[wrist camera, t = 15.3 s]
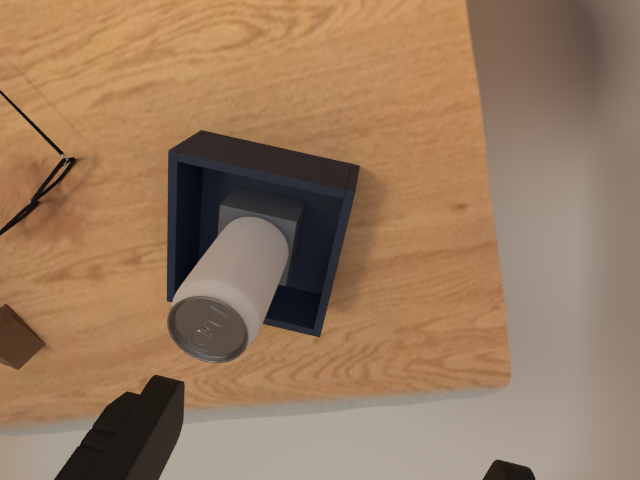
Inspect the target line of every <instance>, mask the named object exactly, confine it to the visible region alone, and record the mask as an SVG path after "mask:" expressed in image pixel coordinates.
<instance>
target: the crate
mask: <svg viewBox="0 0 640 480" xmlns="http://www.w3.org/2000/svg"><path fill="white" fill-rule="evenodd" d="M358 172H359V165H354V164H350V163H345V162H341V161H336V160H332V159H327V158H323V157H318V156H314V155H309V154H305V153H300V152H296V151H291V150H287V149H282V148H278V147H273V146H269V145H264V144H260V143H255V142H251V141H246V140H242V139H237V138H233V137H229V136H224V135H220V134H215V133H211V132H206V131H202V130H201V131H199V132H198V133H196V134H194V135H193V136H191V137H190V138H188V139H186V140H185V141H183V142H182V143H180V144H178V145H177V146H175V147H174V148H172V149H170V150H169V155H168V249H167V301H169V302H172V301H173V298H174V296H175V294H176V292H177V290H178V289H179V288H180V286H181V285H182V283H183V282H184V281H185V279H186V278H187V277H188V275H189V274H190V273H191V271H192V270H193V269H194V267H195V266H196V265H197V263H198V262H199V261H200V259H201V258H202V257H203V255H204V254H205V253H206V251H207V250H208V249H209V247H210V246H211V245H212V243H213V242H214V241H215V240H216V238H217V237H218V225H219V212H220V204H221V203H222V202H223V201H224V200H225V199H226V197H227V196H228V195H229V194H230V193H231V192H232V191H233V189H234V188H235V187H236V186H237V185H239V186H243V187H248V188H252V189H256V190H261V191H265V192H270V193H274V194H278V195H283V196H287V197H292V198H296V199H300V200H305V201H306V204H305V210H304V215H303V221H302V226H301V232H300V237H299V243H298V248H297V253H296V259H295V262H294V265H293V268H292V270H291V273H290V276H289V278H288V281H287V284H286V286H282V285H278V286H277V289H276V291H275V294H274V296H273V299H272V301H271V304H270V306H269V309H268V311H267V314H266V316H265V319H264V321H263V324H266V325H270V326H274V327H278V328H283V329H287V330H291V331H295V332H300V333H304V334H308V335H313V336H317V337H320V335H321V331H322V327H323V323H324V319H325V315H326V310H327V306H328V302H329V298H330V294H331V290H332V286H333V281H334V277H335V273H336V269H337V265H338V261H339V257H340V253H341V248H342V244H343V240H344V236H345V232H346V228H347V224H348V220H349V215H350V211H351V207H352V203H353V199H354V195H355V190H356V184H357V178H358Z"/></svg>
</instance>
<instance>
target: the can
mask: <svg viewBox="0 0 640 480" xmlns="http://www.w3.org/2000/svg"><path fill="white" fill-rule="evenodd" d="M288 255H289V249H288V244H287V241H286V239H285V237H284V235H283V234H282V233H281V231H280V230H279V229H278V228H277V227H276V226H274V225H273V224H272V223H270V222H268V221H266V220H264V219H261V218H257V217H241V218H238V219H235V220H233V221H232V222H230V223H229V224H228V225H227V226H226V227H225V228H224V229H223V231H222V232H221V233H220V234H219V236H218V237H217V238H216V240H215V241H214V242H213V243H212V245H211V246H210V247H209V249H208V250H207V251H206V253H205V254H204V255H203V257H202V258H201V259H200V261H199V262H198V263H197V265H196V266H195V267H194V269H193V270H192V271H191V273H190V274H189V275H188V277H187V278H186V279H185V281H184V282H183V283H182V285H181V286H180V288H179V289H178V290H177V292H176V294H175V296H174V298H173V301H172V309H171V310H170V312H169V315H168V320H167V324H168V330H169V333H170V335H171V337H172V339H173V340H174V342H175V343H176V344H177V345H178V347H179V348H181V349H182V350H183V351H184V352H185V353H187V354H188V355H190V356H192V357H194V358H196V359H199V360H201V361H205V362H210V363H224V362H229V361H232V360H234V359H236V358H237V357H239V356H240V355H241V354H242V353H243V352H244V350H245V349H246V347H247V346H249V345H250V344H251V343H252V342H253V341H254V340H255V338H256V336H257V335H258V333H259V331H260V328H261V326H262V324H263V321H264V319H265V316H266V314H267V311H268V309H269V306H270V304H271V301H272V299H273V296H274V294H275V291H276V289H277V286H278V284H279V281H280V279H281V276H282V274H283V271H284V268H285V266H286V263H287V260H288Z"/></svg>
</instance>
